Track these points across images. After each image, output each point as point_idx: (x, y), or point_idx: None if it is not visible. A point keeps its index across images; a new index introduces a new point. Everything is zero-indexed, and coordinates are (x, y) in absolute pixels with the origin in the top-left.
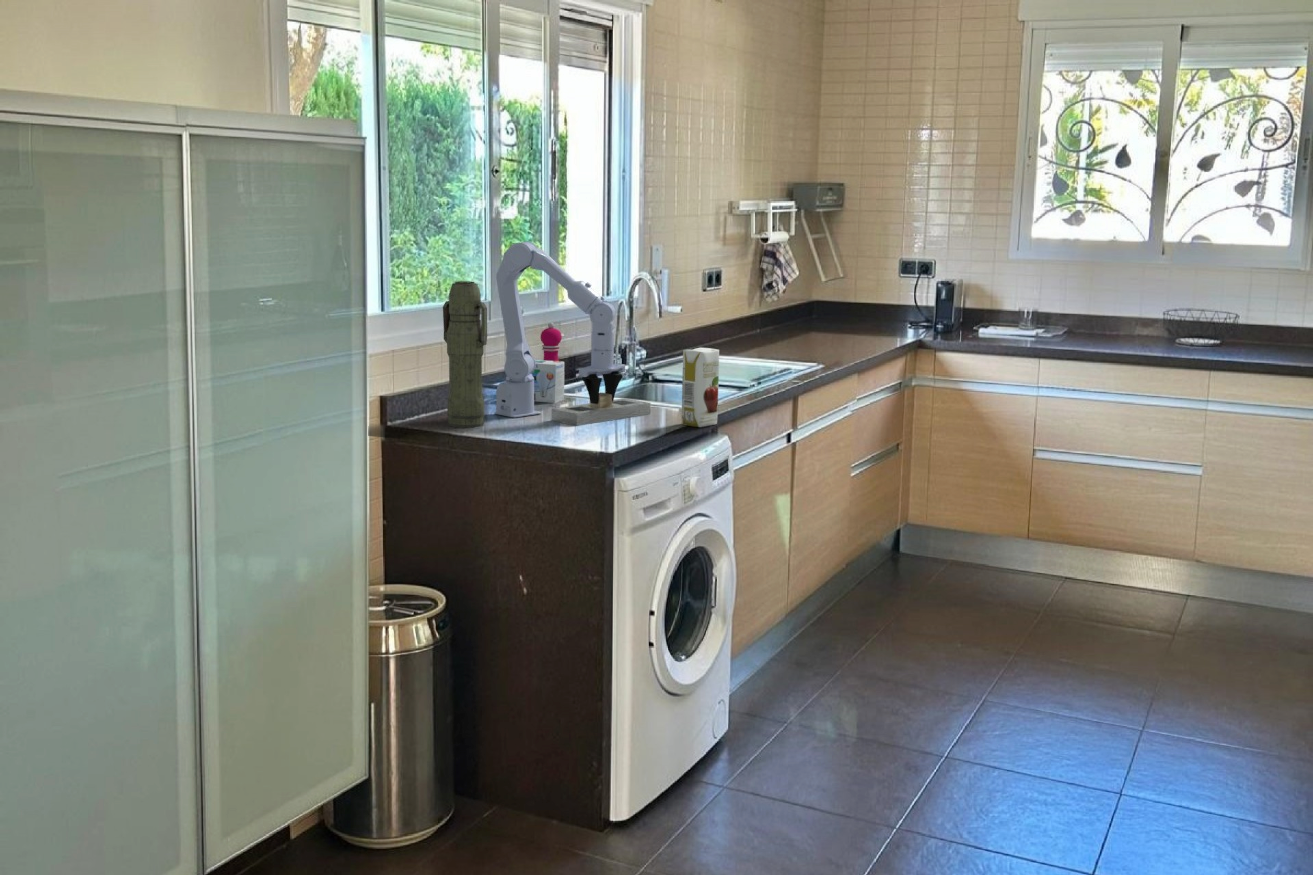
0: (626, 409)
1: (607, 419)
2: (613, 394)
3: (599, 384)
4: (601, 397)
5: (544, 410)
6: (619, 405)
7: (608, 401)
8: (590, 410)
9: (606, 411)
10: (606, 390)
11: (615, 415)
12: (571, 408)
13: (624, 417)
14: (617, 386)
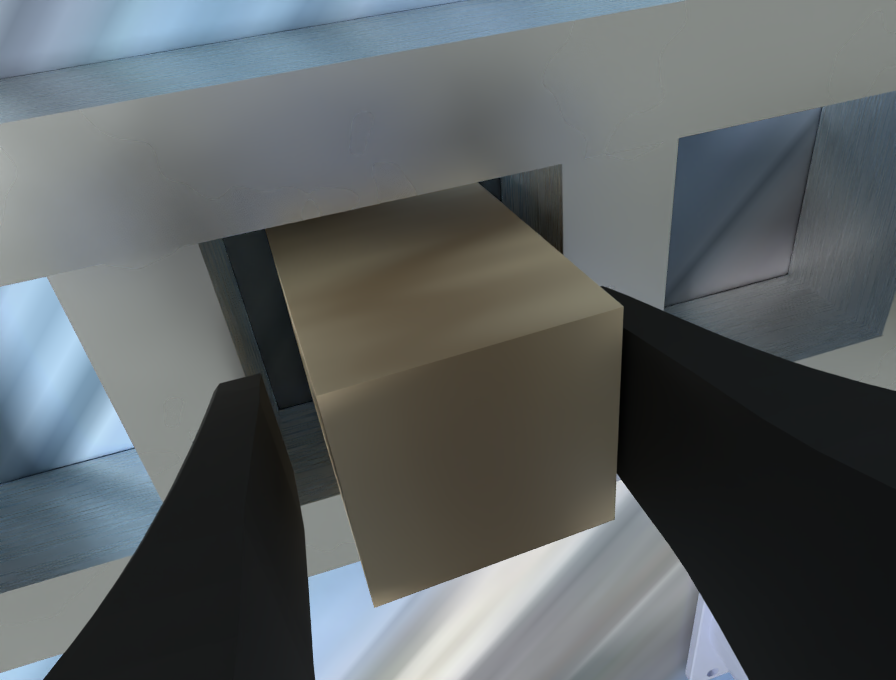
0: (35, 102)
1: (482, 1)
2: (235, 441)
3: (866, 452)
4: (588, 308)
5: (577, 657)
6: (126, 268)
7: (380, 305)
8: (814, 73)
9: (556, 14)
10: (303, 614)
11: (321, 39)
12: (788, 355)
13: (108, 62)
14: (105, 599)
